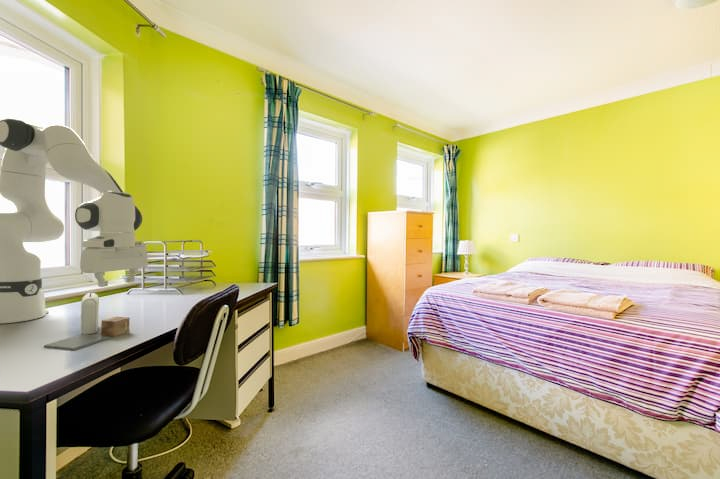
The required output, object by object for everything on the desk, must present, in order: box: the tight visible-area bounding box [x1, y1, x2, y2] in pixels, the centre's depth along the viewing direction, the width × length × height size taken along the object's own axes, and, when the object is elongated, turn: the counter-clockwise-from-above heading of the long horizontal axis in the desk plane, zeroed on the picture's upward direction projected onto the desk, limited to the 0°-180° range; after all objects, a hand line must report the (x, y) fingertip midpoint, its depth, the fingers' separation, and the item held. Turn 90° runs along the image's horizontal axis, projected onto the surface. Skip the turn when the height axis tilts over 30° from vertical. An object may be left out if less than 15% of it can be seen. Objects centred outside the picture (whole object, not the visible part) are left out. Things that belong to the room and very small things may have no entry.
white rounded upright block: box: [80, 292, 100, 335], centre depth 101 cm, size 10×4×12 cm, turn 39°
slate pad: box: [43, 333, 110, 351], centre depth 90 cm, size 10×10×1 cm
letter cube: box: [100, 316, 130, 338], centre depth 98 cm, size 5×5×5 cm
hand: (117, 284), depth 98 cm, fingers open, 8 cm apart
